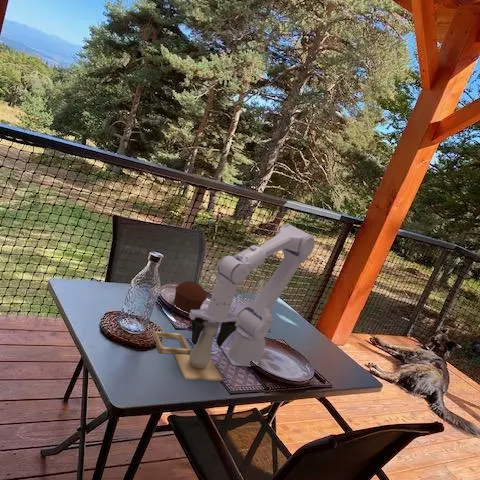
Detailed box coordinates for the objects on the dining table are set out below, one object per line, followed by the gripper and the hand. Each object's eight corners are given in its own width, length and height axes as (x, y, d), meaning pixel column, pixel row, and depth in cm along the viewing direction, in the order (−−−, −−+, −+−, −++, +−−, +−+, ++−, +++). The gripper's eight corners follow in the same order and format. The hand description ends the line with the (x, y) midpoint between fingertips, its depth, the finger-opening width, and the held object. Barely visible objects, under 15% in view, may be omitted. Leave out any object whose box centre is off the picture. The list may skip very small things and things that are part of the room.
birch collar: (180, 338, 141) (181, 333, 140) (189, 355, 133) (190, 350, 132) (151, 335, 136) (153, 331, 136) (159, 352, 128) (160, 348, 128)
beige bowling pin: (205, 373, 125) (220, 332, 122) (185, 366, 125) (199, 324, 122) (208, 363, 131) (222, 323, 128) (189, 356, 131) (203, 316, 128)
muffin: (164, 301, 162) (172, 276, 160) (188, 301, 170) (196, 276, 168) (182, 318, 154) (191, 292, 152) (207, 317, 162) (216, 291, 160)
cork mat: (208, 358, 135) (209, 356, 135) (222, 380, 126) (222, 378, 125) (173, 355, 130) (174, 353, 129) (185, 379, 120) (185, 377, 120)
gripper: (239, 296, 130) (224, 338, 133) (192, 289, 123) (177, 333, 126) (249, 308, 124) (233, 351, 127) (200, 301, 117) (185, 347, 120)
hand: (206, 343), depth 126 cm, fingers open, 7 cm apart
